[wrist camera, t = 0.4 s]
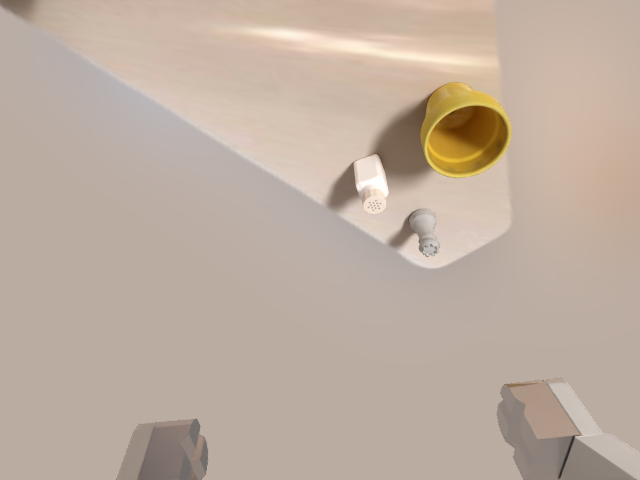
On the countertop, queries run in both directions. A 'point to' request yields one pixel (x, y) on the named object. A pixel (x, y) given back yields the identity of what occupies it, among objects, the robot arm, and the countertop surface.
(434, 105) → the plant pot
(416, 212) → the rook chess piece
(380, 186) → the salt shaker
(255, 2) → the countertop surface
